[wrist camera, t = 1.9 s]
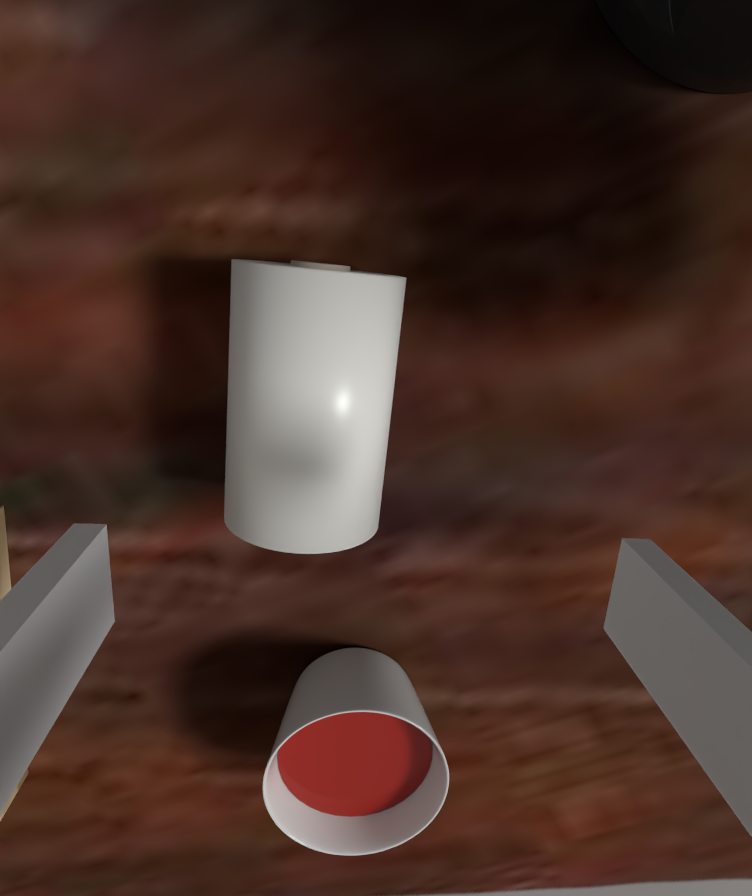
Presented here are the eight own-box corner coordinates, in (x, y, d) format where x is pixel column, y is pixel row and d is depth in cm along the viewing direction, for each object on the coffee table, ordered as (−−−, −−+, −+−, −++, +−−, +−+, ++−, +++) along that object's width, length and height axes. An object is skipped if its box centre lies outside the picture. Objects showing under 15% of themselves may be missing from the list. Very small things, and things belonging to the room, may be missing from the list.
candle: (435, 744, 37) (455, 841, 31) (287, 765, 36) (279, 867, 30) (422, 618, 34) (441, 698, 28) (262, 640, 33) (247, 725, 27)
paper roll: (248, 253, 27) (213, 253, 21) (401, 270, 28) (414, 275, 21) (239, 486, 31) (207, 550, 24) (375, 498, 31) (380, 564, 25)
